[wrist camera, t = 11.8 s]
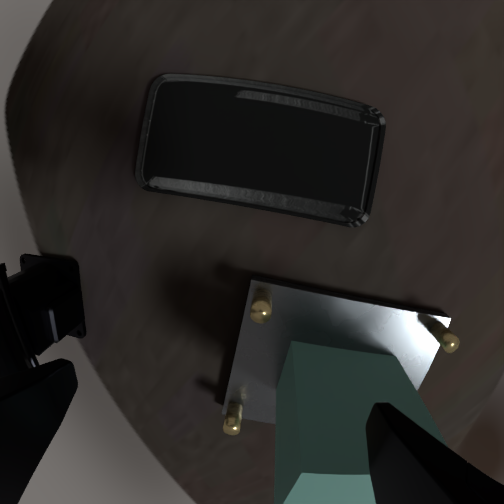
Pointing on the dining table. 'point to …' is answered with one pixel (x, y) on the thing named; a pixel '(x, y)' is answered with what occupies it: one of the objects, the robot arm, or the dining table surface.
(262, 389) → the chassis
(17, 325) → the robot arm
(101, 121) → the dining table surface
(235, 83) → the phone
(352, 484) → the teal rectangular block
